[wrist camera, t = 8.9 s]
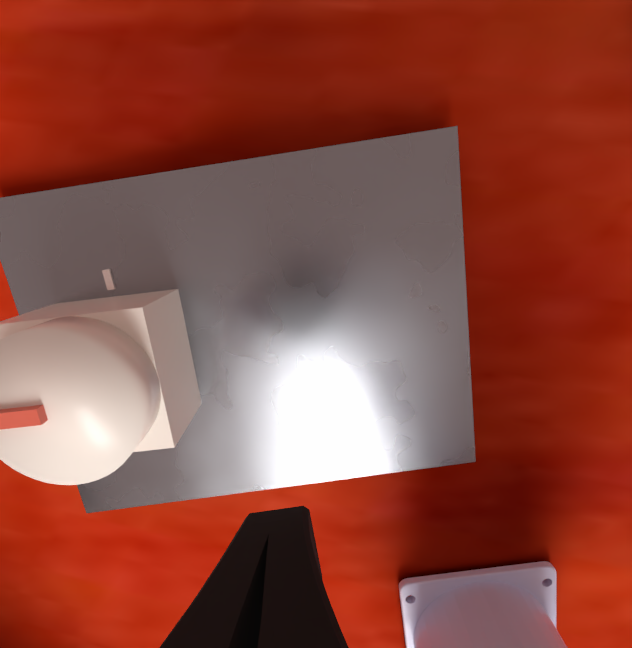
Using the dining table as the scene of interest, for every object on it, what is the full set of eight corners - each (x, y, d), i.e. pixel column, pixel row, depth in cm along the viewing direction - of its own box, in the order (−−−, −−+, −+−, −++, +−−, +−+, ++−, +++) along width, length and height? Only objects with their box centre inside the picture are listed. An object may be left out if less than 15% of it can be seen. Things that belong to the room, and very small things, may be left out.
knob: (178, 288, 16) (113, 322, 11) (201, 403, 17) (153, 481, 12) (55, 303, 16) (-67, 343, 11) (87, 415, 18) (-9, 499, 12)
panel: (465, 447, 19) (508, 511, 15) (99, 495, 20) (41, 571, 16) (446, 132, 16) (495, 100, 12) (4, 202, 16) (-105, 196, 12)
